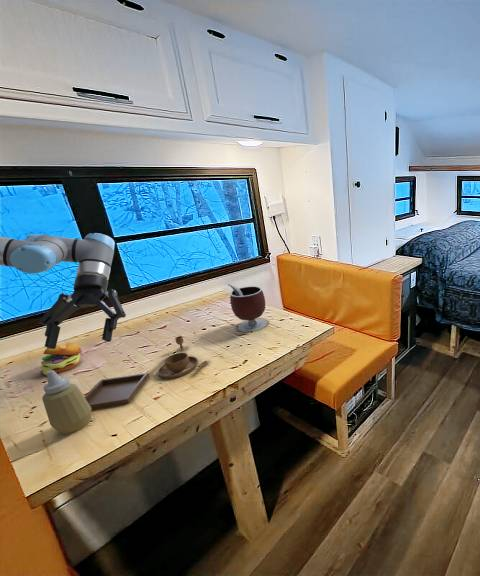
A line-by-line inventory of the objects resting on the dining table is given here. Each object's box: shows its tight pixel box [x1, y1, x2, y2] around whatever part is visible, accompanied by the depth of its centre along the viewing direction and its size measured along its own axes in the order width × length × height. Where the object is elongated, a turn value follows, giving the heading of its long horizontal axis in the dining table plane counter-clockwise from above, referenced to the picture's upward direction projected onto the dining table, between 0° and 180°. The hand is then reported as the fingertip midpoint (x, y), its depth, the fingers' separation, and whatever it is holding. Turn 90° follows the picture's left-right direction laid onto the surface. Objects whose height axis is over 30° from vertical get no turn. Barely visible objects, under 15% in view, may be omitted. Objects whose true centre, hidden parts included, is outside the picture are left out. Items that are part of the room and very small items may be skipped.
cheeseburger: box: [40, 343, 82, 376], centre depth 110 cm, size 10×11×10 cm
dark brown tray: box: [83, 372, 150, 411], centre depth 96 cm, size 14×14×2 cm
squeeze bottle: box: [41, 370, 92, 435], centre depth 81 cm, size 8×8×18 cm
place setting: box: [157, 335, 208, 379], centre depth 111 cm, size 18×20×6 cm
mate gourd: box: [227, 283, 268, 333], centre depth 135 cm, size 16×14×20 cm
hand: (78, 344), depth 87 cm, fingers open, 13 cm apart
